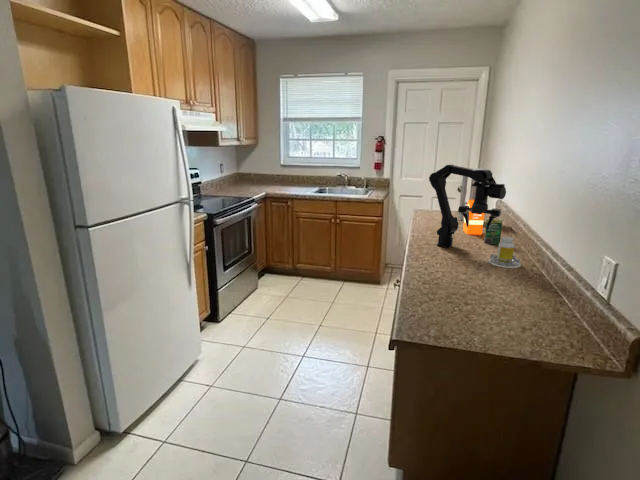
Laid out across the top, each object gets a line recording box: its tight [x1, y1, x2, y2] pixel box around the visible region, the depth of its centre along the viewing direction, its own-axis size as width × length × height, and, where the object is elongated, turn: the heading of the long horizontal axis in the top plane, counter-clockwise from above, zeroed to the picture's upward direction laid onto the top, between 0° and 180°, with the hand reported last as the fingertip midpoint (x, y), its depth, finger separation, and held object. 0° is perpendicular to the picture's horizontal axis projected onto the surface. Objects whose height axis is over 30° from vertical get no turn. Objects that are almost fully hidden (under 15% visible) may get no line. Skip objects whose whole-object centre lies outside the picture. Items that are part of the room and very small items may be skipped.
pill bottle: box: [496, 236, 515, 262], centre depth 178 cm, size 6×6×12 cm
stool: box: [457, 167, 488, 221], centre depth 259 cm, size 16×16×35 cm
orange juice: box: [462, 199, 485, 236], centre depth 231 cm, size 8×9×20 cm
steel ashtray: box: [488, 253, 522, 269], centre depth 179 cm, size 14×14×3 cm
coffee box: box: [484, 218, 503, 245], centre depth 210 cm, size 8×3×13 cm, turn 66°
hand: (477, 228), depth 190 cm, fingers open, 9 cm apart
